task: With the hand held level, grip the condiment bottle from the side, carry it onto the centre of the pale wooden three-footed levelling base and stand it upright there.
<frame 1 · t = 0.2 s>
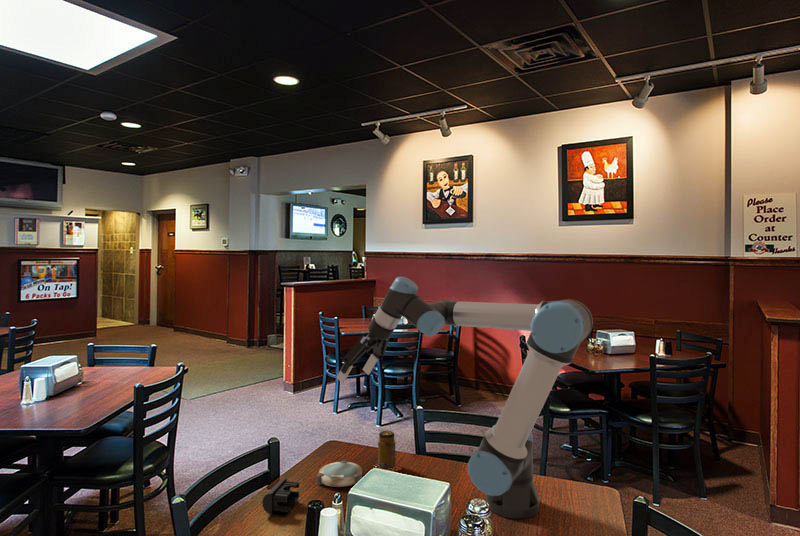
hand: (353, 375, 150), 35 cm above the table, tool tilted 35°, fingers open, 13 cm apart
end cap: (281, 509, 135), on the table
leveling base: (340, 479, 154), on the table
condiment: (387, 468, 162), on the table
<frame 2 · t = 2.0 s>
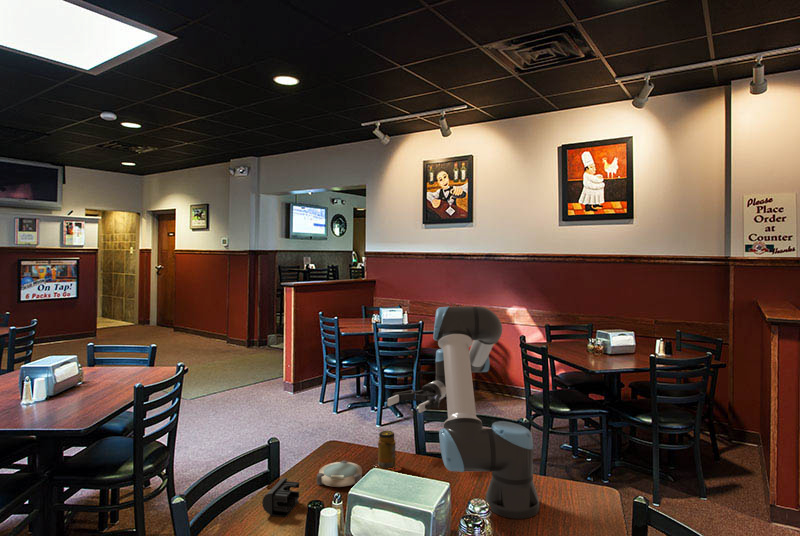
hand: (403, 405, 170), 19 cm above the table, tool horizontal, fingers open, 13 cm apart
nothing on the table moved.
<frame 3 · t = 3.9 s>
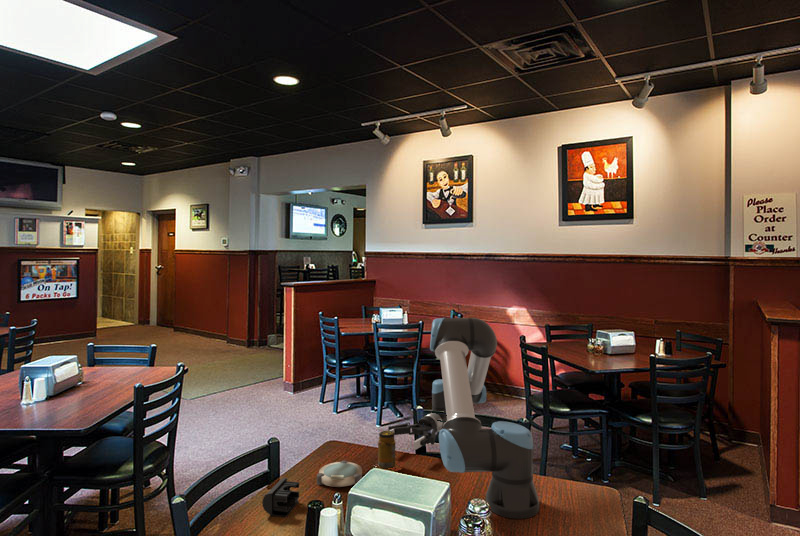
hand: (398, 441, 168), 7 cm above the table, tool horizontal, fingers open, 13 cm apart
nothing on the table moved.
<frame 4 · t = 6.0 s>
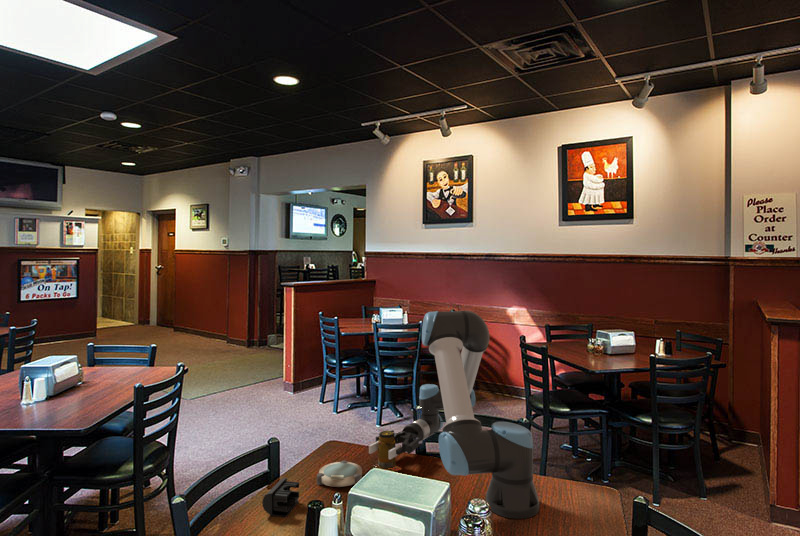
hand: (379, 452, 158), 7 cm above the table, tool horizontal, fingers open, 8 cm apart
condiment: (387, 468, 162), on the table, touching gripper
everything else where it was.
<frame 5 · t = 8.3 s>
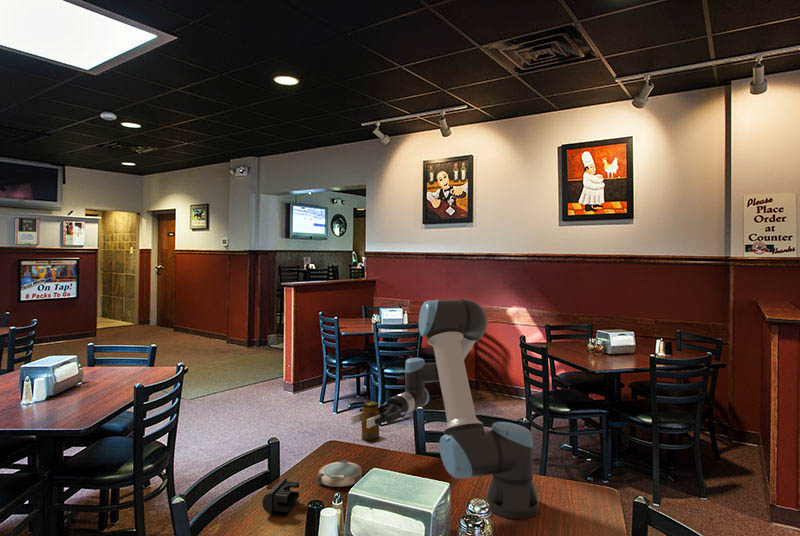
hand: (359, 421, 156), 18 cm above the table, tool horizontal, fingers closed on condiment, 6 cm apart
condiment: (371, 439, 160), point 11 cm above the table, touching gripper
everything else where it was.
when the fingers open (11 cm above the table, at t = 10.5 s): condiment stays where it is, resting on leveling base.
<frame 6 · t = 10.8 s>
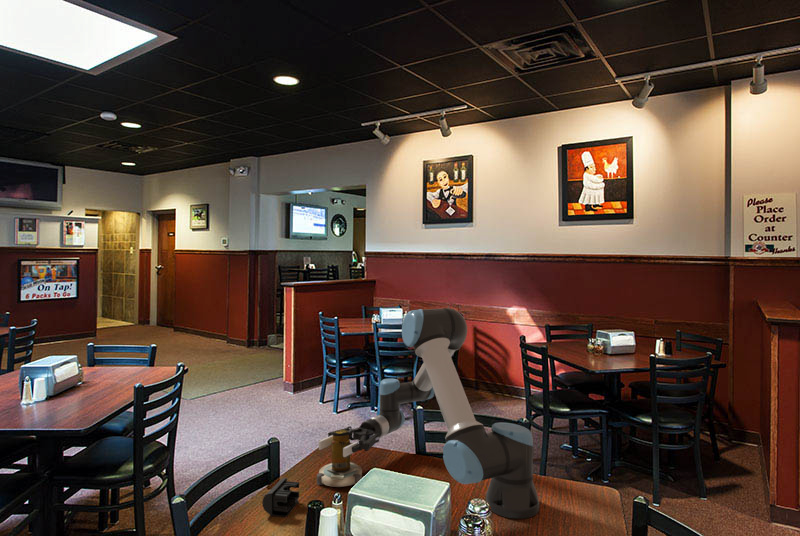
hand: (331, 449, 150), 11 cm above the table, tool horizontal, fingers open, 10 cm apart
condiment: (342, 470, 153), point 3 cm above the table, touching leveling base
everything else where it was.
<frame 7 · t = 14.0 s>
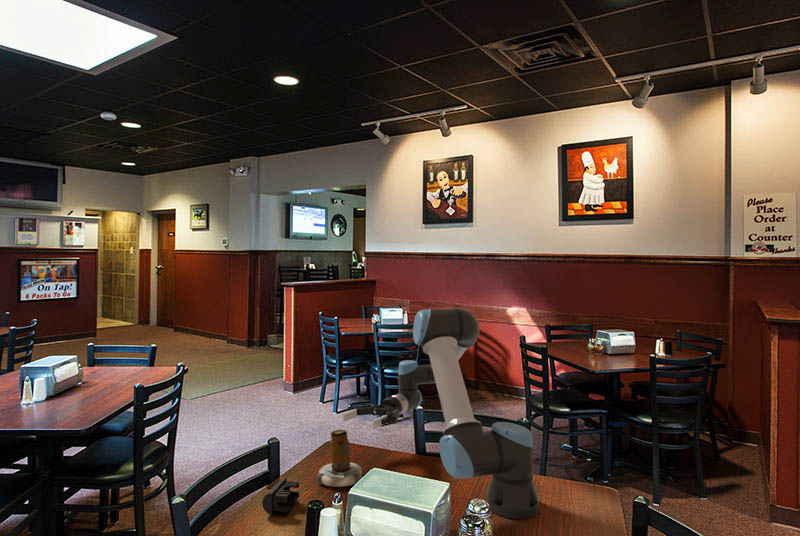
hand: (358, 420, 162), 16 cm above the table, tool horizontal, fingers open, 13 cm apart
nothing on the table moved.
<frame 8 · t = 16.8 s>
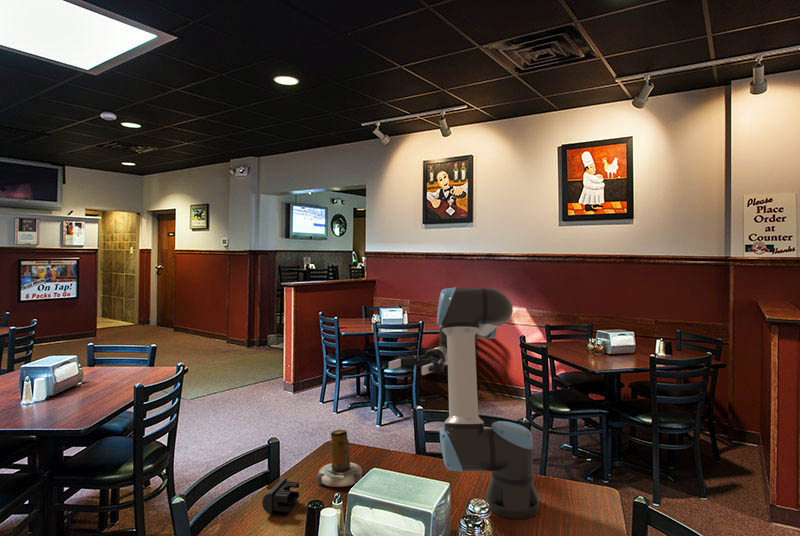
hand: (405, 368, 160), 35 cm above the table, tool horizontal, fingers open, 13 cm apart
nothing on the table moved.
at the end: condiment inside the target area on the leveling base (0.9 cm from its centre), point 3.2 cm above the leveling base's base; condiment tilted 6°; the gripper is holding nothing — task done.
